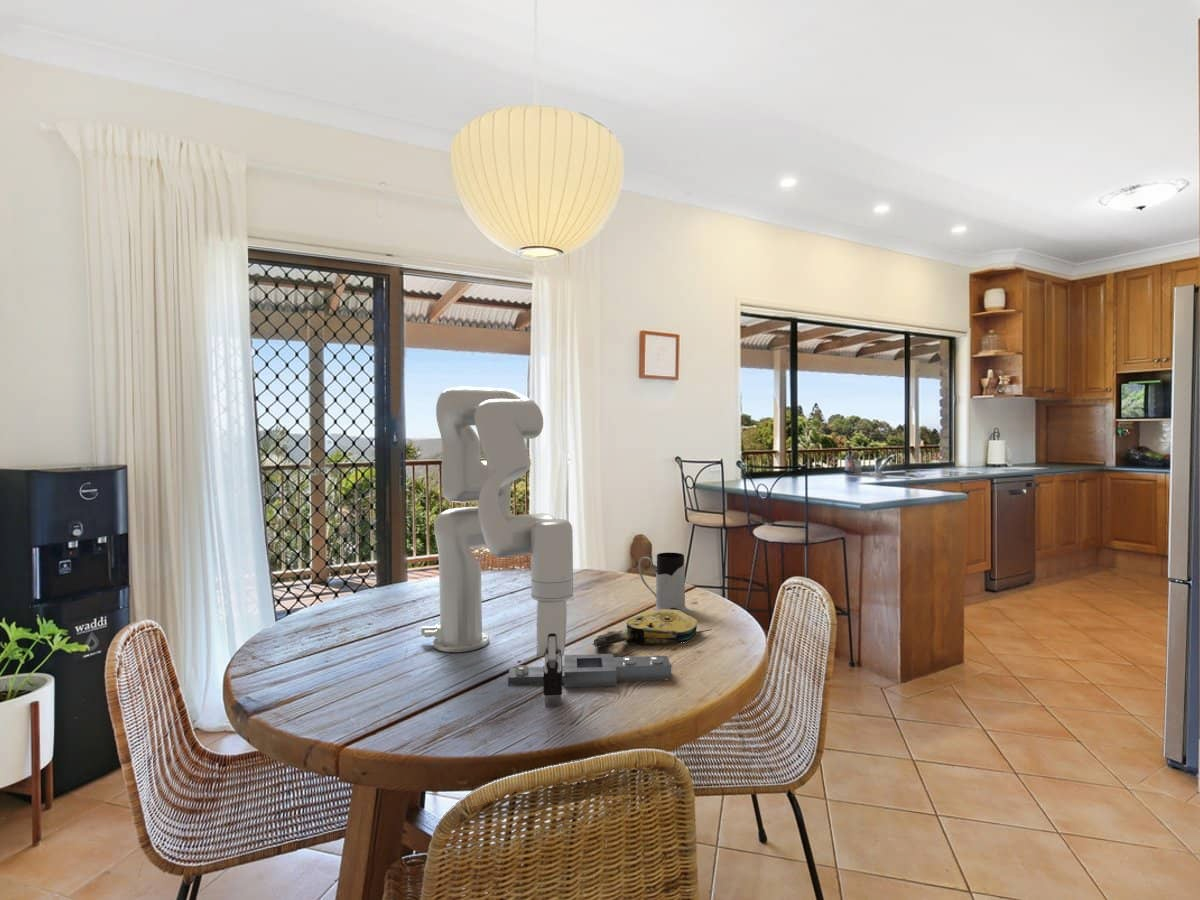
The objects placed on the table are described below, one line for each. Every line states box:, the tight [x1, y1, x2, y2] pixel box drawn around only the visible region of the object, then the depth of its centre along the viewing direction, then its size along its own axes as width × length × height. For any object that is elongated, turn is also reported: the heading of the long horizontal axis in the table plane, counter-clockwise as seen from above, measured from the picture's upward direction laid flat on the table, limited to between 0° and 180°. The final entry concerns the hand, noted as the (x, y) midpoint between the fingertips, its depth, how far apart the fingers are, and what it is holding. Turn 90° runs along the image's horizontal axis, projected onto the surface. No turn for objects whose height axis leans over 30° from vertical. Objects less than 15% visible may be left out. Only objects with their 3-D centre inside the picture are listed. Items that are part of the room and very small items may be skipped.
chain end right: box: [563, 653, 672, 683], centre depth 123 cm, size 21×9×4 cm, turn 93°
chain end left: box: [507, 664, 617, 689], centre depth 122 cm, size 21×9×2 cm, turn 93°
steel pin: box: [543, 651, 563, 708], centre depth 111 cm, size 4×4×10 cm
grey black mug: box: [638, 552, 687, 612], centre depth 170 cm, size 9×14×15 cm, turn 58°
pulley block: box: [592, 607, 713, 648], centre depth 145 cm, size 14×6×30 cm
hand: (553, 684), depth 111 cm, fingers open, 7 cm apart
